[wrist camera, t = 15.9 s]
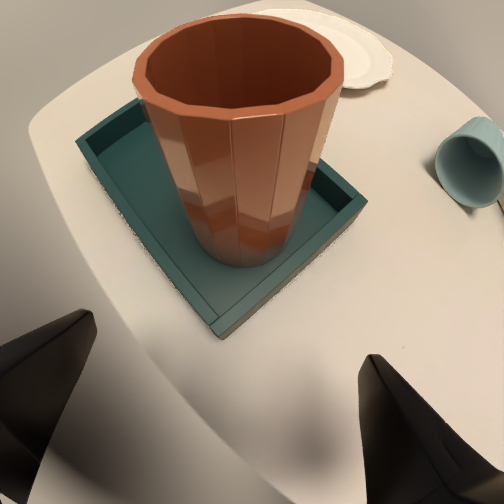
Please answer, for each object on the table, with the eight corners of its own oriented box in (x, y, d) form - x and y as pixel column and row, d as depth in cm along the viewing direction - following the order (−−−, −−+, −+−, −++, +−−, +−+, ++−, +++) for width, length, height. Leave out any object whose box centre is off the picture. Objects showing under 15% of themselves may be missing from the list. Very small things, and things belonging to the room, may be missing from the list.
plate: (391, 45, 31) (394, 37, 29) (383, 125, 24) (389, 114, 23) (260, 8, 33) (260, 0, 32) (191, 70, 27) (189, 59, 25)
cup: (448, 140, 26) (423, 174, 23) (471, 94, 20) (453, 117, 17) (492, 177, 24) (477, 221, 21) (521, 135, 18) (518, 171, 14)
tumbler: (304, 258, 19) (380, 112, 7) (199, 275, 19) (121, 141, 6) (282, 171, 22) (306, 12, 9) (189, 184, 21) (143, 28, 9)
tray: (354, 221, 21) (368, 201, 18) (223, 340, 18) (218, 337, 15) (197, 90, 26) (193, 66, 23) (89, 161, 23) (74, 140, 20)
